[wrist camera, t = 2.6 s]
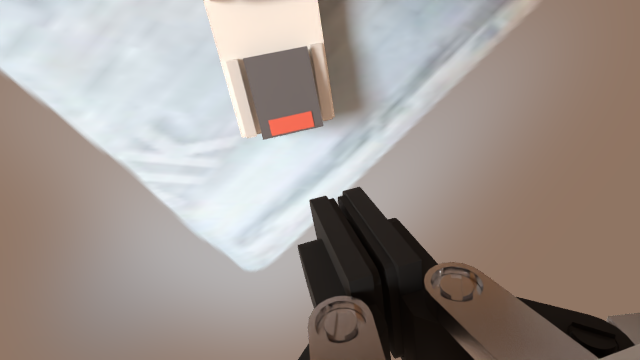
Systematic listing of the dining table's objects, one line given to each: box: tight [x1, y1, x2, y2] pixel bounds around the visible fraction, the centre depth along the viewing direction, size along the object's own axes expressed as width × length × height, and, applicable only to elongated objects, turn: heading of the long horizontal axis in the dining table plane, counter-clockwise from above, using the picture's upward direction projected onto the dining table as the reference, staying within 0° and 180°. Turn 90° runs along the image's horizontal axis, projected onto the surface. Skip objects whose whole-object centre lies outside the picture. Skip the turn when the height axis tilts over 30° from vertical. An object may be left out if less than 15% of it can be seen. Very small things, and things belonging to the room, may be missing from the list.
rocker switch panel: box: [203, 0, 335, 138], centre depth 22 cm, size 14×7×4 cm, turn 10°
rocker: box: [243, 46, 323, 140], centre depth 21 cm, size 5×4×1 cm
